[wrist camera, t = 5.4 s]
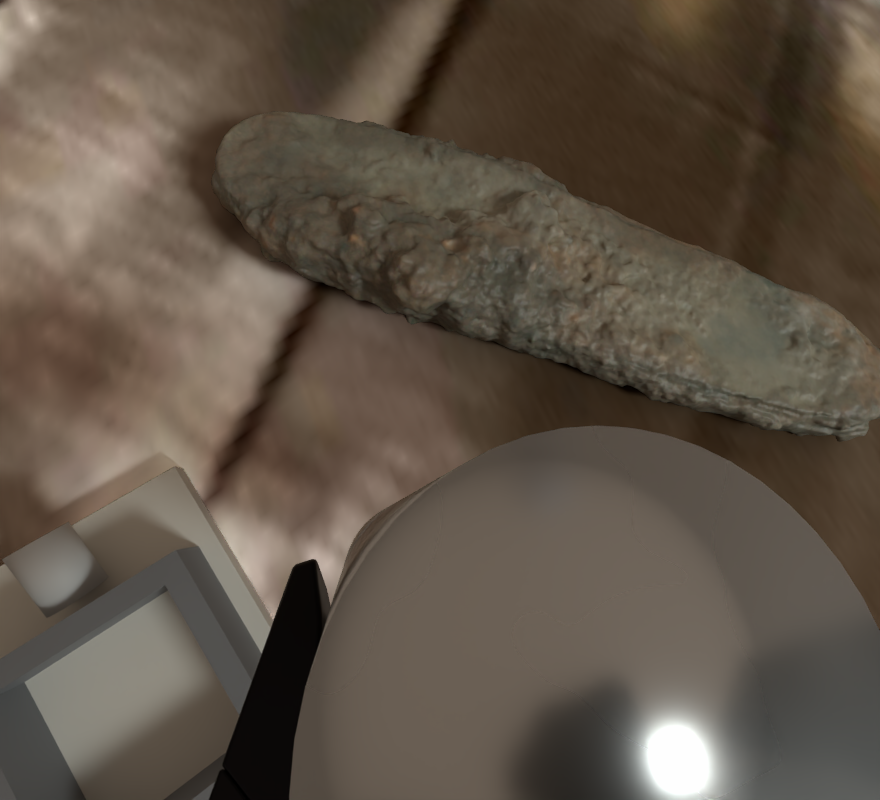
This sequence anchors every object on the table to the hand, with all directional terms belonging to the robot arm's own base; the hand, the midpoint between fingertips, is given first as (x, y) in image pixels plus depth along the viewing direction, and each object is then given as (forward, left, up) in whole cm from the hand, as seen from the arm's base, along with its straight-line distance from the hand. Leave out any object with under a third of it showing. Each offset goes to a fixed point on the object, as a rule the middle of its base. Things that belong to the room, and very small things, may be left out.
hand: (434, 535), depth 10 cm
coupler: (-1, -1, -7) cm, 7 cm away
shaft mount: (-7, +7, -12) cm, 16 cm away
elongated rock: (+13, -7, -13) cm, 19 cm away
